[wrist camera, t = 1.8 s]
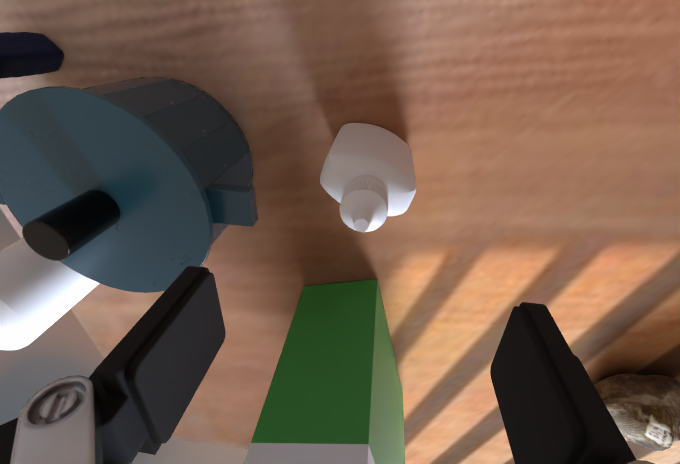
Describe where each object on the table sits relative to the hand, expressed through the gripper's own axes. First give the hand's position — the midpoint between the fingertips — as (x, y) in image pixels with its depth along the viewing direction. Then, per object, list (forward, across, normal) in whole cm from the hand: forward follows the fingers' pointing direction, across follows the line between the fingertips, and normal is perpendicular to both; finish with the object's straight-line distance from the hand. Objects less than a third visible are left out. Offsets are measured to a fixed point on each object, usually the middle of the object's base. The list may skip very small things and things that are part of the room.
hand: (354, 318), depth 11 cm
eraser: (+18, +25, -6) cm, 31 cm away
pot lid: (+9, +16, +2) cm, 19 cm away
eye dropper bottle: (+18, 0, 0) cm, 18 cm away
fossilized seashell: (+18, -28, +23) cm, 40 cm away
